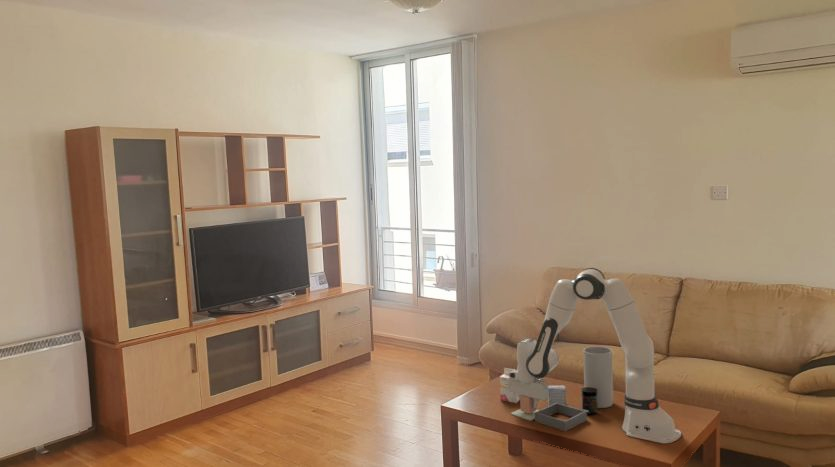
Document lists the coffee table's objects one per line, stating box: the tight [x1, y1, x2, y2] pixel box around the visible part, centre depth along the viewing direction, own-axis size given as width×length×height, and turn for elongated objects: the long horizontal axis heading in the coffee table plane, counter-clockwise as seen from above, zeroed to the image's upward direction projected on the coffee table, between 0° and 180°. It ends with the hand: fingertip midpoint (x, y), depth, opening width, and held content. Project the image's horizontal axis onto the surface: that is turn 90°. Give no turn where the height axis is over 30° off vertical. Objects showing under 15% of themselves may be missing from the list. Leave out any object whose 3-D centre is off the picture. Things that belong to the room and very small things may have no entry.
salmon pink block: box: [519, 395, 538, 414], centre depth 274 cm, size 5×5×7 cm
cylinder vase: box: [583, 346, 614, 409], centre depth 282 cm, size 12×12×25 cm
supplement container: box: [581, 387, 599, 416], centre depth 272 cm, size 7×7×10 cm
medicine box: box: [547, 385, 567, 406], centre depth 283 cm, size 8×4×9 cm, turn 84°
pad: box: [510, 408, 540, 422], centre depth 274 cm, size 11×11×1 cm
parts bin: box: [534, 403, 588, 432], centre depth 265 cm, size 16×16×4 cm
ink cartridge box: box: [499, 367, 520, 404], centre depth 292 cm, size 9×5×15 cm, turn 58°
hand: (528, 405), depth 274 cm, fingers closed on salmon pink block, 5 cm apart
